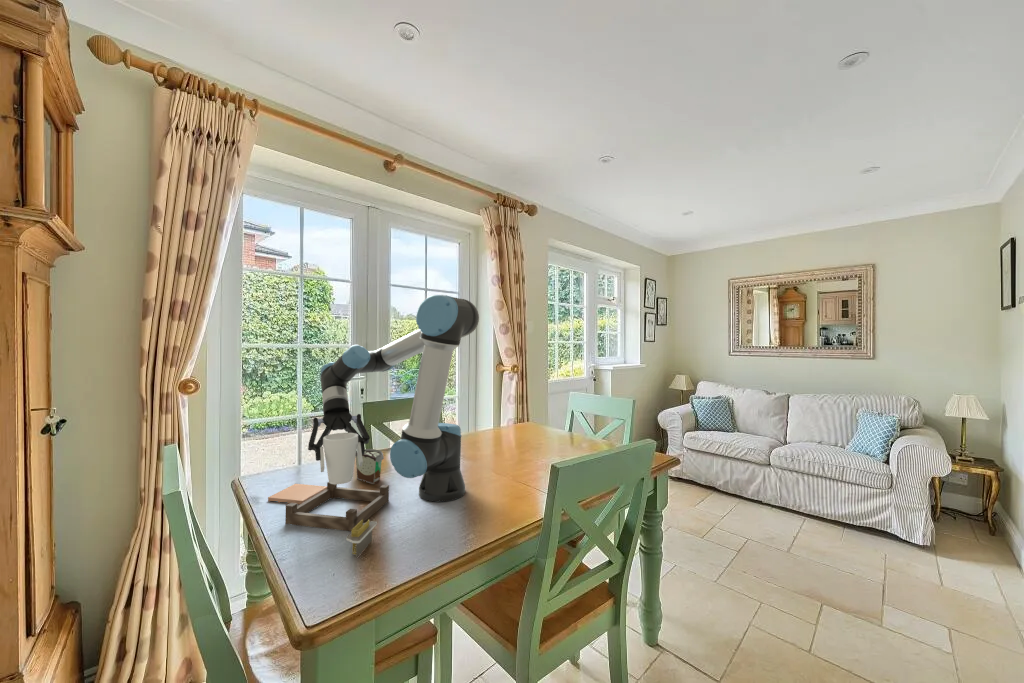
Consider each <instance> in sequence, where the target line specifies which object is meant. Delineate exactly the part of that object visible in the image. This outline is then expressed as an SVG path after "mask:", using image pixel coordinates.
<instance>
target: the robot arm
mask: <svg viewBox="0 0 1024 683" xmlns="http://www.w3.org/2000/svg"><path fill="white" fill-rule="evenodd" d="M479 320H480V315H479V311H478V308H477V307H476V306H475V305H474V304H473V303H472V302H471V301H470V300H468V299H465V298H458V297H453V296H450V295H447V294H445V295H444V294H434V295H431V296H428V297H426V298H425V299H424V300H423V301H422V302H421V303H420V305H419V306H418V308H417V311H416V316H415V321H416V325H417V326H418V327H417V328H418V329H416V330H414V331H413V332H412V331H411V332H410V333H408V334H406V335H404V336H402V337H400V338H398V339H396V340H394V341H392V342H390V343H389V344H386V345H384V346H383V347H380V348H378V349H376V350H368V349H367V348H366V347H364V346H362V345H359V344H353V345H351V346H350V347H349V348H347V349H346V350H345V351H343V353H342V354H341V355H340V356H339V358H338V359H337V360H336V361H330V362H328V363H325V364H324V365H322V367H321V369H320V385H321V396H322V409H323V416H322V418H317V417H313V419H312V420H313V421H312V429H311V434H310V437H309V441H308V446H307V447H308V448H307V450H308V451H313V452H314V454H315V461H319V463H320V472H321V473H324V472H325V452H324V447H323V438H324V436H327V435H330V433H331V432H332V431H338V430H339V431H343V430H344V431H345V433H356V434H358V444H357V449H356V451H357V455H358V462H359V467H360V466H362V463H363V459H362V455H364V453H365V449H366V448H365V445H367V444H369V443H370V439H371V437H370V435H369V433H368V431H367V429H366V428H365V424H364V423H363V421H362V414H360V413H357V415H352V414H351V412H350V404H349V398H348V395H349V394H348V388H347V385H348V383H349V382H350V381H351V380H352V379H353V378H354V377H355V376H356V375H358V374H367V373H378V372H380V373H383V372H387V371H390V370H393V369H394V367H395V366H396V365H397V364H399V363H402V362H404V361H406V360H409V359H411V358H412V357H415V356H416V355H420V354H422V355H421V357H420V358H421V359H420V362H419V363H420V364H419V365H420V366H419V369H418V375H417V379H416V385H415V391H414V395H413V401H412V406H411V411H410V416H409V420H408V422H407V423H406V424H404V425H403V426H402V431H401V435H400V439H397V440H396V441H395V442H393V444H392V445H391V447H390V451H389V459H390V463H391V466H393V468H394V470H395V471H396V473H397V474H399V475H400V476H402V477H403V478H406V479H414V478H418V477H421V476H422V477H421V480H420V484H419V487H418V496H419V498H421V499H422V498H423V500H425V501H428V500H429V501H428V502H434V501H444V502H451V501H454V500H458V499H460V498H462V497H463V496H465V494H466V483H465V481H464V480H465V479H464V478H463V475H462V471H461V452H462V451H461V448H462V447H461V446H462V435H461V433H462V429H461V427H460V425H458V424H455V423H449V422H446V423H445V422H440V417H441V413H442V407H443V404H444V397H445V392H446V388H447V382H448V379H449V378H448V377H449V372H450V368H451V363H452V357H453V352H454V350H455V349H456V348H458V347H460V345H461V344H460V343H461V339H462V338H464V337H466V336H468V335H469V336H470V334H472V333H474V331H476V329H477V327H478V326H479V322H480V321H479ZM351 421H353V423H355V425H356V427H357V430H358V431H357V430H356V429H355V427H354V426H352V423H351ZM322 424H323V425H325V429H324V431H323V432H322V433H321V435H320V436H319V438H318V440H317V442H316V438H317V435H318V430H319V427H320V426H321V425H322ZM315 442H316V443H315ZM464 493H465V494H464ZM461 496H462V497H461ZM457 498H458V499H457Z"/></svg>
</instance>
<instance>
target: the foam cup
mask: <svg viewBox="0 0 1024 683" xmlns="http://www.w3.org/2000/svg"><path fill="white" fill-rule="evenodd" d="M358 434H359V433H358ZM358 434H356V433H348V432H337V433H336V432H335V433H332V434H329V435H327V436H324V438H323V445H322V447H323V452H324V460H325V465H326V471H327V472H326V473H327V478H328V482H329V483H330V484H337V485H343V484H348V483H351V482H352V481H353V476H354V470H355V465H356V451H357V444H358Z"/></svg>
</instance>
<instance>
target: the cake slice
mask: <svg viewBox="0 0 1024 683" xmlns="http://www.w3.org/2000/svg"><path fill="white" fill-rule="evenodd" d="M362 459H363V463H362V466H360V467H359V462H358V455H357V450H356V457H355V466H356V467H355V468H356V479H357V480H359V481H362V480H363V481H362V482H365V481H366V483H369V484H371V485H375V484H379V482H380V480H381V471H382V461H383V460H384V459H385V457H384V453H383V451H382V450H380V449H374V448H365V453H364V455H362Z"/></svg>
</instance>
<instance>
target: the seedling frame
mask: <svg viewBox="0 0 1024 683" xmlns="http://www.w3.org/2000/svg"><path fill="white" fill-rule="evenodd" d="M326 484H327V485H326V486H327V489H326V490H324V491H322V492H321V493H319V494H317V495H316V496H314V497H312V498H310V499H309V500H307V501H305V502H304V503H302V504H297V503H287V504H286V505H285V522H284V523H285V525H290V524H292V526H293V525H294V526H301V527H308V526H309V527H310V528H318V529H327V530H328V529H329V530H335V529H336V530H337V531H344V532H345V531H346V532H352V529H353V528H354V527H355V526H356V525H357V524H358V523H359V522H360V521H361V520H362V519H363V523H365V521H366V522H367V521H368V519H369V518H371V517H372V516H373V515H374V514H375V513H376V512H378V511H379V510H380V509H381V508H382V507H383V506H385V505H386V504H387V503H388V502H389V500H390V499H389V498H390V495H389V494H390V485H388V484H382V485H380V487H379V490H375V489H374V490H372V489H363V488H362V489H361V488H352V487H341V486H339V487H338V484H330V483H329V481H327V482H326ZM330 498H332V500H333V499H334V498H335V499H342V498H344V499H345V500H352V499H354V500H355V501H365V502H370V503H368V504H367V505H366V506H365V507H363V508H361V509H360V510H358V509H356V508H349V509H348V510H347V511H345V516H340V515H331V514H329V515H328V514H319V513H310V512H311V511H313V510H315V509H317V508H318V507H320V506H321V505H322V503H323V504H324V503H325V501H326V502H327V501H329V500H330ZM328 499H329V500H328ZM344 499H343V500H344ZM354 500H353V501H354ZM317 506H318V507H317ZM314 508H315V509H314ZM312 509H313V510H312ZM309 511H310V512H309Z"/></svg>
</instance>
